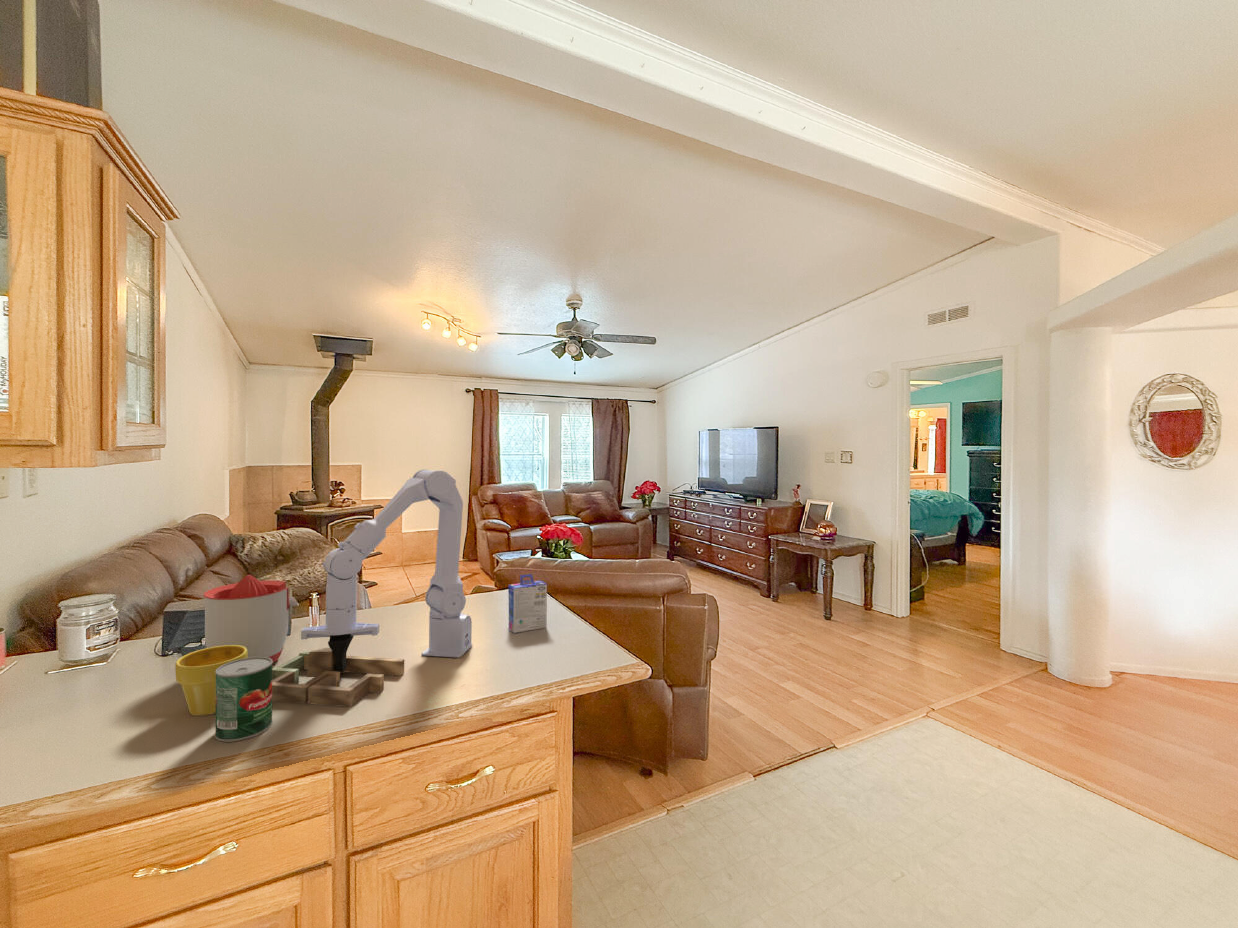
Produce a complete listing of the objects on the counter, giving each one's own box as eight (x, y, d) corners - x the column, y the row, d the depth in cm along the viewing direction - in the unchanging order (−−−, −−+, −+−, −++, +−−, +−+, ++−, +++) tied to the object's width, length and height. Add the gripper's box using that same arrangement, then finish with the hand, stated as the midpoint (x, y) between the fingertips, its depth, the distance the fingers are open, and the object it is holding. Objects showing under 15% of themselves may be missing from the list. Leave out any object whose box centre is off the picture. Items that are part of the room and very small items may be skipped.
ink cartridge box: (540, 622, 144) (541, 571, 144) (547, 628, 139) (548, 575, 139) (506, 627, 139) (507, 575, 139) (513, 633, 134) (514, 579, 134)
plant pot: (188, 727, 86) (188, 671, 86) (166, 710, 92) (166, 657, 92) (257, 703, 95) (257, 651, 95) (233, 689, 100) (233, 640, 100)
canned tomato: (225, 721, 88) (225, 659, 88) (277, 714, 91) (278, 653, 91) (206, 746, 81) (207, 678, 81) (264, 737, 84) (265, 671, 84)
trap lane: (404, 672, 109) (404, 657, 109) (361, 707, 94) (361, 689, 94) (302, 666, 112) (303, 651, 112) (245, 698, 97) (245, 681, 97)
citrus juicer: (302, 664, 113) (303, 575, 112) (202, 685, 102) (202, 587, 101) (294, 643, 125) (294, 563, 124) (203, 660, 114) (203, 572, 114)
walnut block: (344, 671, 109) (347, 647, 110) (329, 677, 104) (331, 651, 105) (323, 671, 109) (325, 647, 110) (306, 676, 104) (309, 651, 105)
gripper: (383, 599, 112) (381, 660, 112) (310, 602, 108) (309, 665, 108) (375, 608, 105) (374, 673, 105) (297, 611, 102) (296, 678, 102)
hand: (340, 670), depth 106 cm, fingers closed, pressing on walnut block
